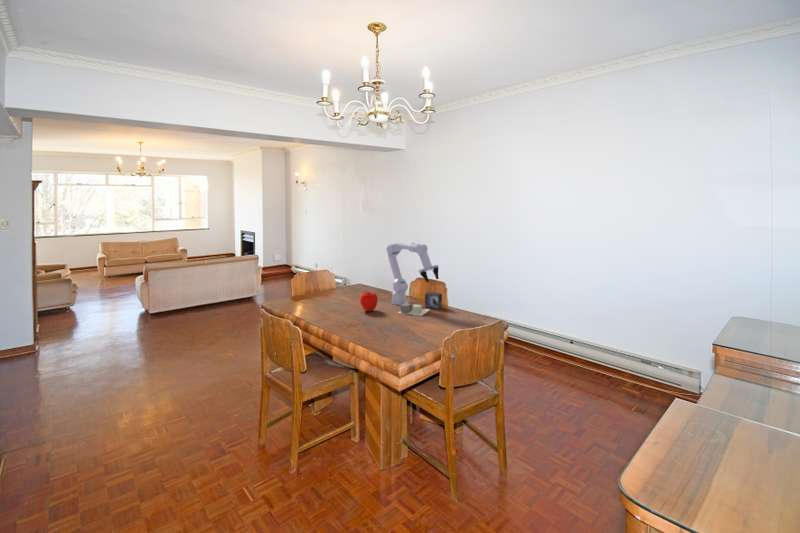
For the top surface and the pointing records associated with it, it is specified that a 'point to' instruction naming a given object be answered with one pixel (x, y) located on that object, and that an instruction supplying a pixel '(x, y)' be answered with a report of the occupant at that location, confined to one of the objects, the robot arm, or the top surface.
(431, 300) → the picture frame
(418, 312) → the sage block
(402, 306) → the charcoal block
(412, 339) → the top surface
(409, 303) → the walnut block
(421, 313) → the grey mat
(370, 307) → the apple
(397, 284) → the robot arm
